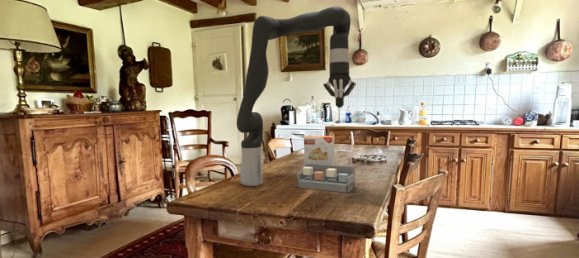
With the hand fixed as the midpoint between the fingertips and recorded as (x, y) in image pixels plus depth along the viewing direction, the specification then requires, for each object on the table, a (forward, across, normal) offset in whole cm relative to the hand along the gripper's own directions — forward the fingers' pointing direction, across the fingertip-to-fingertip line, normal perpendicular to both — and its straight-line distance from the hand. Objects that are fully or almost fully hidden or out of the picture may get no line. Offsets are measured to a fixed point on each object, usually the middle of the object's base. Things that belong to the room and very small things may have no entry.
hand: (339, 107), depth 127 cm
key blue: (+31, -2, +11) cm, 33 cm away
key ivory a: (+30, -19, +11) cm, 37 cm away
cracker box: (+35, -19, +25) cm, 47 cm away
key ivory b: (+30, -8, +11) cm, 32 cm away
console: (+35, -10, +11) cm, 38 cm away
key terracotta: (+31, -13, +11) cm, 36 cm away
